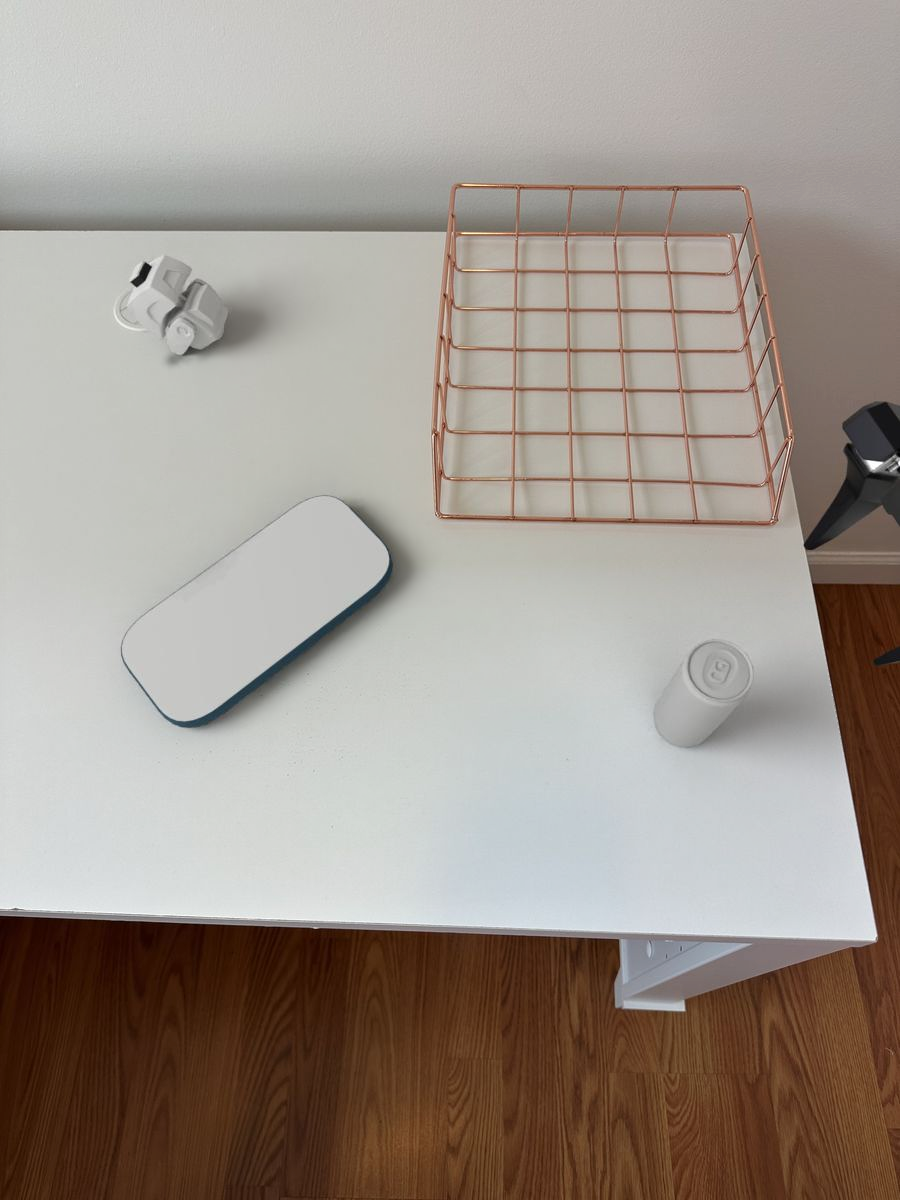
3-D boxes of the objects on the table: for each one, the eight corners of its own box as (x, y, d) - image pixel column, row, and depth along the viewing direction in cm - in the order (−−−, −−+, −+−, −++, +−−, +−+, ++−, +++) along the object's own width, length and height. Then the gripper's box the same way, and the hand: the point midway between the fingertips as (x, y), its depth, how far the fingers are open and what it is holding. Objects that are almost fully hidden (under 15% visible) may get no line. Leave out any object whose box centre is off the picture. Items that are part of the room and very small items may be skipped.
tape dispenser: (212, 326, 90) (129, 263, 84) (247, 303, 85) (161, 234, 79) (194, 369, 87) (107, 308, 81) (229, 347, 83) (140, 280, 77)
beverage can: (720, 708, 68) (765, 655, 57) (698, 760, 66) (741, 715, 56) (664, 682, 69) (699, 625, 58) (642, 732, 67) (673, 683, 57)
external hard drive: (187, 746, 68) (179, 740, 66) (114, 648, 72) (104, 640, 70) (408, 574, 74) (406, 564, 72) (330, 492, 78) (326, 480, 76)
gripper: (918, 309, 45) (708, 485, 56) (1145, 603, 38) (852, 743, 48) (998, 346, 52) (797, 497, 63) (1205, 602, 44) (936, 724, 55)
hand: (840, 603), depth 57 cm, fingers open, 9 cm apart
